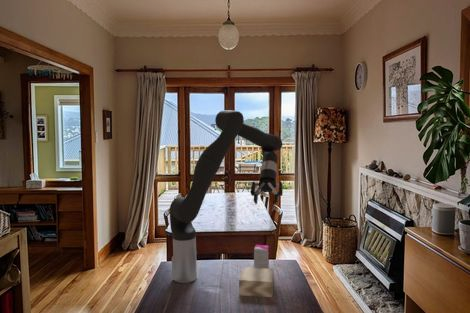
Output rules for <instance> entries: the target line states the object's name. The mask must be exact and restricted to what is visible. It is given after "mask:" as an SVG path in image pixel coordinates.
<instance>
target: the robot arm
mask: <svg viewBox="0 0 470 313" xmlns="http://www.w3.org/2000/svg"><path fill="white" fill-rule="evenodd" d="M214 122H215V125H216V127H217V128H218V130H221V132H220V134H219V136H218V137H217V138H216V139H215V140H214V141H213V142H211V143H210V144H209V145H208V146H207V147H206V148H205V149H204V150H203V151H202V152H201V154H200V156H199V158H198V160H197V161H196V164H195V165H194V169H193V174H192V176H193V177H192V182H191V183H192V184H191V186H190V189H189V190H188V192H187V194H186V195H185V197H183V196H177V197H176V198H175V199H173V200H172V201H171V203H170V206H169V221H170V222H169V224H170V225H169V226H170V231H171V234H172V247H173V248H172V252H173V254H172V255H173V256H171V281H172V280H174V281H173V282H176V283H179V284H189V283H192V282H194V281H196V280H197V279H198V277H197V276H198V272H197V271H198V270H197V266H198V264H197V234H196V229H195V228H194V226H193V223H192V222H193V221H194V220H195V219H196V218H197V217H198V214H199V213H200V210H201V207H202V205H203V202H204V199H205V197H206V195H207V192H208V191H209V189H210V187H211V184H212V183H213V180H214V178H215V177H216V175H217V173H218V171H219V169H220V168H221V165H222V163H223V160H224V158H225V157H226V155H227V153H228V152H229V150H230V147H231V146H232V144H233V143H234V141H235V139H236V138H237V136H239V137H241V138H242V139H244V140H246V141H248V142H251V143H252V144H253V145H256V146H258V147H260V149H261V154H262V155H261V156H262V161H261V162H262V163H261V166H260V173H259V174H260V175H259V182H255V181H253V182H252V183H251V187H250V192H249V193H250V195H251V196H252V197H253V203H254V204H255V205H258V201H259V200H258V199H259V195H262V193H272V194H273V205H276V204H277V203H278V201H279V199H278V198H279V197H282V196H283V189H284V187H283V183H282V181H279V182H277V176H278V166H277V165H278V155H277V153H275V152H277V151H279V150H281V149H282V147H283V141H282V139H281V138H280V137H279V136H278V135H275V134H272V133H268V132H267V133H266V132H264V131H263V130H261V129H259V128H257V127H255V126H252V125H249V124H247V123H244V115H243V114H242V112H240V111H238V110H230V109H228V110H220V111H219V112H218V113H217V114H216V116H215V120H214ZM276 187H277V188H278V191H277V190H276Z"/></svg>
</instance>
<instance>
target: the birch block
mask: <svg viewBox="0 0 470 313" xmlns="http://www.w3.org/2000/svg"><path fill="white" fill-rule="evenodd" d="M274 272H275V271H274V268H273V267H271V268H270V267H269V268H254V266H253V267H251V266H243V267H242V271H241V272H240V276H239V279H238V293H239V294H238V296H244V297H245V296H246V297H248V296H249V297H261V298H262V297H263V298H265V297H266V298H273V292H274V284H275V282H274V281H275V279H274V278H275V276H274V275H275V273H274Z"/></svg>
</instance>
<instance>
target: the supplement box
mask: <svg viewBox="0 0 470 313" xmlns="http://www.w3.org/2000/svg"><path fill="white" fill-rule="evenodd" d="M253 250H254V251H253V268H270V267H269V266H270V264H269V261H270V256H269V255H270V246H269V245H266V244H255V246H254V248H253Z"/></svg>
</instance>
